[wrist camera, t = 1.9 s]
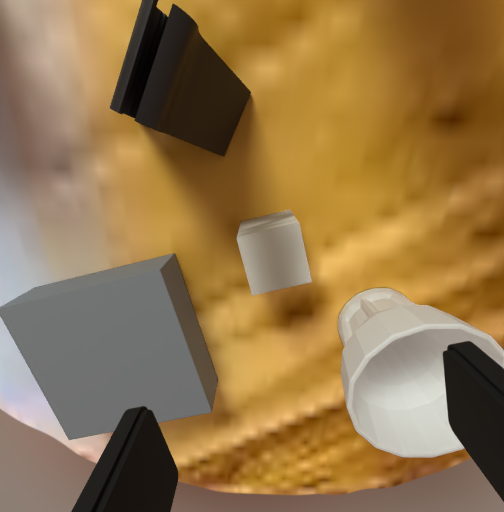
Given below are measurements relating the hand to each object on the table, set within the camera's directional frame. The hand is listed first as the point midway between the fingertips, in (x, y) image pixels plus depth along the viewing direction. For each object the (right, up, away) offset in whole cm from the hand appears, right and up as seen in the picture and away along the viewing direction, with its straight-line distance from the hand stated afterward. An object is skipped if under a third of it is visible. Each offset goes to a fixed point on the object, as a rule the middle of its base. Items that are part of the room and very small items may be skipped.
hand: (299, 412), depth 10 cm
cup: (+12, -2, +24) cm, 27 cm away
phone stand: (-7, +19, +18) cm, 27 cm away
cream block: (0, +7, +21) cm, 22 cm away
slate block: (-15, -4, +25) cm, 29 cm away
